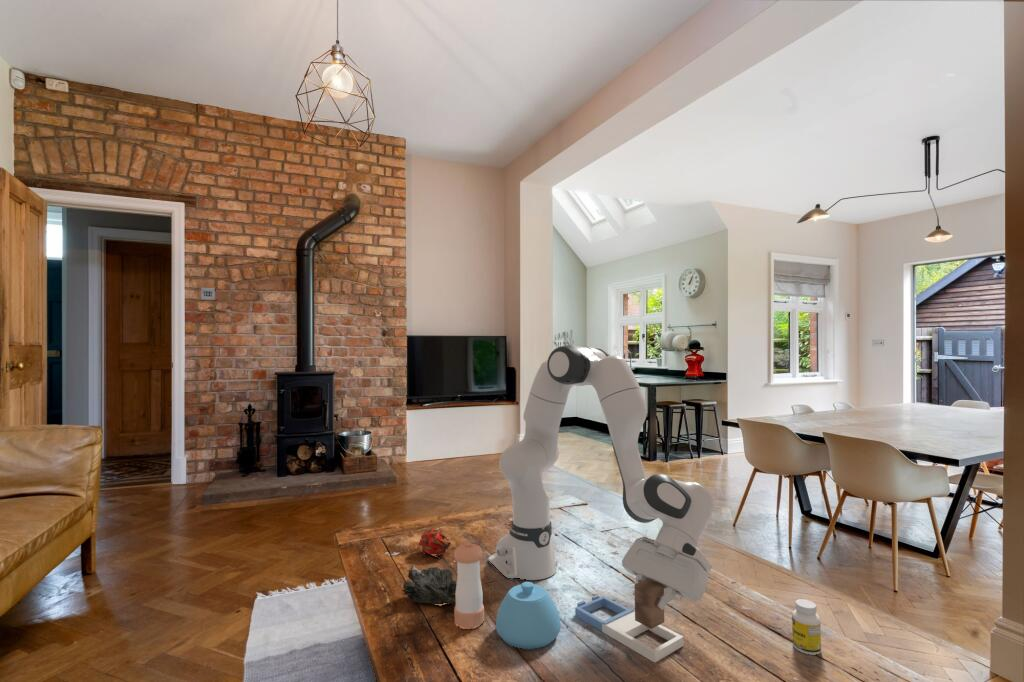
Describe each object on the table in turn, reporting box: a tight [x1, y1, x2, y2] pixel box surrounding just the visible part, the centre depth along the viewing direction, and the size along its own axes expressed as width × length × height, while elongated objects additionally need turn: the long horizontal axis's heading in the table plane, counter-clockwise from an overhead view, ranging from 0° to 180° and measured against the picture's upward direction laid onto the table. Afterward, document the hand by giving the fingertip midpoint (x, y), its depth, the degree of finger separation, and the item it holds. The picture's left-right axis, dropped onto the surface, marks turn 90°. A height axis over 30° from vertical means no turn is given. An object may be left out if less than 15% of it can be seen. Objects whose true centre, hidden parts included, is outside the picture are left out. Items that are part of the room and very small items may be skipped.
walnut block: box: [634, 579, 665, 629], centre depth 115 cm, size 4×4×8 cm
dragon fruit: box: [418, 528, 451, 555], centre depth 167 cm, size 8×8×12 cm
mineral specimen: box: [401, 565, 457, 605], centre depth 137 cm, size 15×13×10 cm
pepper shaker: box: [453, 541, 485, 627], centre depth 126 cm, size 7×7×19 cm
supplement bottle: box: [791, 598, 822, 656], centre depth 113 cm, size 5×5×10 cm
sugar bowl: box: [495, 581, 562, 650], centre depth 120 cm, size 15×15×12 cm
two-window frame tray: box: [574, 594, 685, 663], centre depth 121 cm, size 25×10×2 cm, turn 36°
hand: (647, 602), depth 115 cm, fingers closed on walnut block, 4 cm apart
